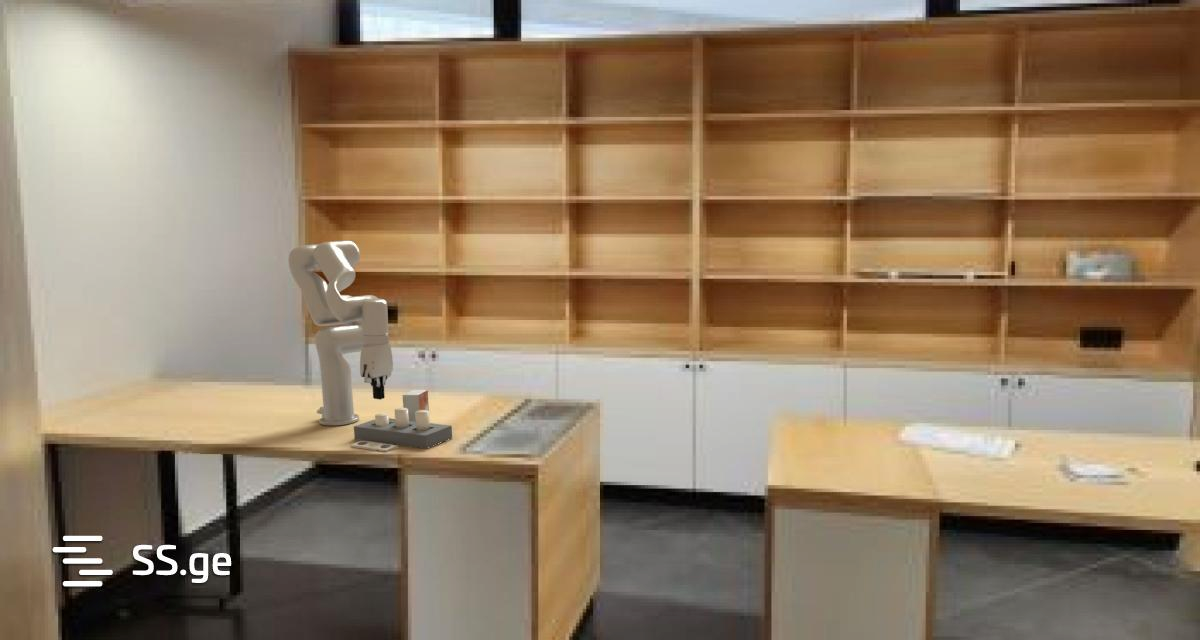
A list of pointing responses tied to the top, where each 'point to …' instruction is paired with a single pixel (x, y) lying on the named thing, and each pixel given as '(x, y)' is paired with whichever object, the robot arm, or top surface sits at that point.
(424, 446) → the grey slotted rack
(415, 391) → the small box
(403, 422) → the button
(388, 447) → the pattern card
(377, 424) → the button
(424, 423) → the button
